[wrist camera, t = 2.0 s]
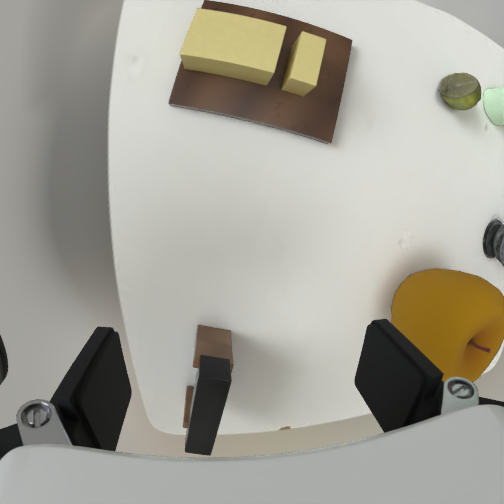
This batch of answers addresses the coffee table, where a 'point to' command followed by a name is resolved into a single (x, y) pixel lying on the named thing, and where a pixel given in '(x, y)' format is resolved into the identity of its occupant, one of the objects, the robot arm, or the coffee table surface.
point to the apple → (451, 320)
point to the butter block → (232, 46)
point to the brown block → (208, 354)
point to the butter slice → (304, 64)
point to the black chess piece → (494, 241)
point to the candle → (494, 104)
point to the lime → (460, 90)
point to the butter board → (272, 84)
